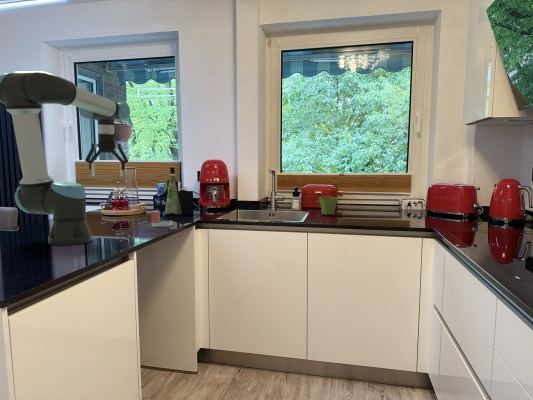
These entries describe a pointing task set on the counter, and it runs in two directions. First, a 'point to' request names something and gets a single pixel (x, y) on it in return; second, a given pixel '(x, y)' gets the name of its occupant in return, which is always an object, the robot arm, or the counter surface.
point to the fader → (155, 216)
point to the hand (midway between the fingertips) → (107, 176)
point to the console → (162, 224)
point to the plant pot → (328, 204)
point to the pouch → (172, 198)
